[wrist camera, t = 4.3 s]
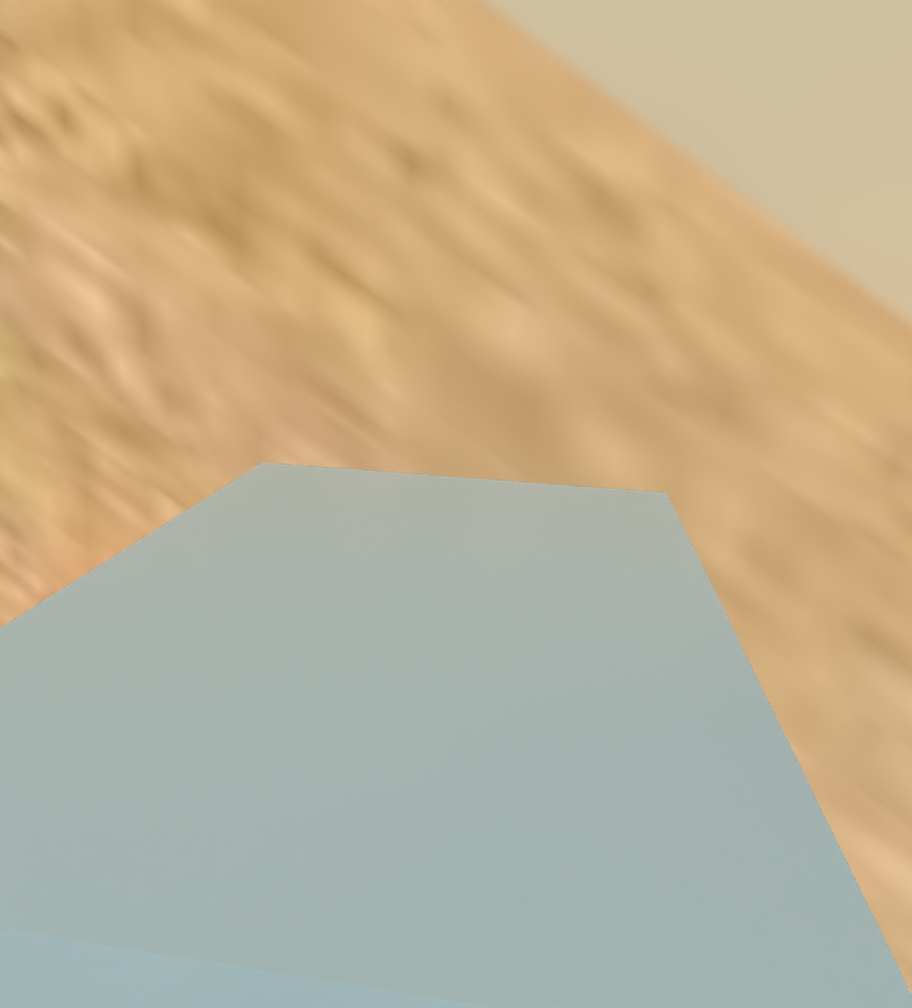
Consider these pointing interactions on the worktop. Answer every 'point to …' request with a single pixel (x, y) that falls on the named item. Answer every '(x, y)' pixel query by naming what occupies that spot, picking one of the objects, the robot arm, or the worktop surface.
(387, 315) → the worktop surface
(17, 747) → the light blue block
